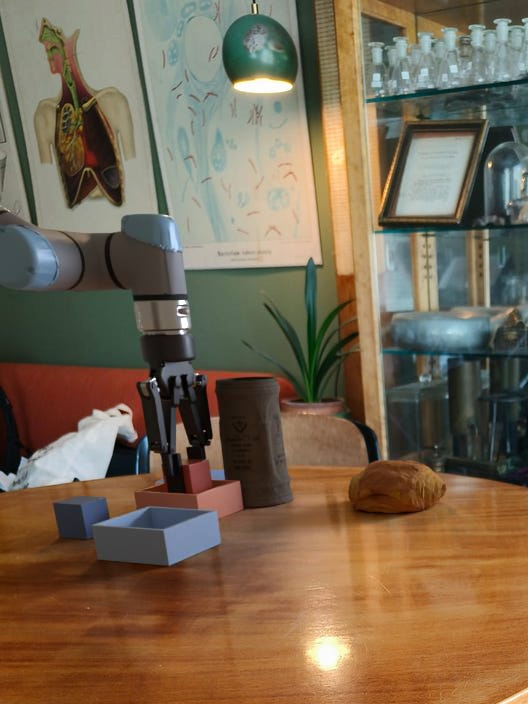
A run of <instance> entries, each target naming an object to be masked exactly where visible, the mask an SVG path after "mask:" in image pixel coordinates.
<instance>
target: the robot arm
mask: <svg viewBox="0 0 528 704" xmlns="http://www.w3.org/2000/svg"><path fill="white" fill-rule="evenodd" d="M183 253H184V249H183V248H182V243H181V238H180V232H179V227H178V223H177V221H176V220H175V219H174V217H172V216H170V215H168V214H163V213H162V214H161V213H160V214H159V213H132V214H125V215H123V216H122V217H121V219H120V230H119V231H114V232H77V231H66V230H59V229H51V228H50V229H49V228H42V227H40V226H37V225H35V224H33V223H32V222H31V221H28V220H27V219H25V218H23V217H21V216H19V215H18V214H16V213H14V212H12V211H11V210H10V209H8V208H6V207H4V206H3V205H1V204H0V285H1V286H3V287H5V288H7V289H11V290H19V291H21V292H26V293H36V292H44V291H45V292H51V291H52V292H53V291H57V292H58V291H62V292H71V293H86V292H99V291H116V290H123V291H125V290H128V291H129V290H130V291H131V294H132V301H133V308H134V315H135V322H136V329H137V331H138V332H141V333H142V335H140V337H139V338H138V340H139V346H140V352H141V358H142V361H143V362H144V363H147V364H148V366H149V370H148V378H147V379H145V380H144V381H137V382H136V383H135V388H136V390H137V392H138V395H139V397H140V402H141V408H142V414H143V415H142V416H143V421H144V428H145V435H146V440H147V448H148V450H149V451H150V452H153V453H154V454H159V455H160V460H161V464H162V466H163V472H164V475H165V476H166V482H167V488H168V493H181V494H186V488H185V482H184V475H183V468H182V461H181V459H182V454H181V452H176V451H177V409H178V412H179V416H180V419H181V422H182V425H183V428H184V432H185V435H186V438H187V441H188V445H189V446H186V447H185V450H186V451H185V452H186V457H187V458H186V459H206V460H207V454H206V447H210V446H211V444H212V441H213V439H214V432H213V427H212V419H211V411H210V405H209V397H208V390H207V389H208V376H207V374H205V373H197V372H195V370H194V367H193V365H192V361H195V360H196V359H197V352H196V344H195V336H194V335H193V334H192V333H189V330H191V329H192V328H193V325H192V317H191V309H190V304H189V294H188V290H187V282H186V274H185V263H184V257H183ZM162 466H161V467H162ZM163 472H162V473H163Z"/></svg>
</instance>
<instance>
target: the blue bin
mask: <svg viewBox="0 0 528 704" xmlns="http://www.w3.org/2000/svg"><path fill="white" fill-rule="evenodd" d="M91 527H92V532H93V542H94V547H95V554H96V559H97V561H107V562H108V561H109V562H118V563H119V562H121V563H133V564H142V565H152V566H153V565H154V566H165V567H170V566H173V565H175V564H177V563H179V562H182V561H184V560H186V559H188V558H190V557H193V556H195V555H197V554H200V553H202V552H206V551H207V550H210V549H211V548H214V547H216V546H218V545H221V544H222V539H221V532H220V524H219V519H218V516H217V511H215V510H200V509H184V508H168V507H153V506H148V507H145V508H142V509H139V510H137V509H136V510H134V511H131V512H127V513H124V514H121V515H118V516H115V517H112V518H110V519H109V520H106V521H103V522H100V523H97V524H94V525H91Z"/></svg>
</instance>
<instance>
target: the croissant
mask: <svg viewBox="0 0 528 704" xmlns="http://www.w3.org/2000/svg"><path fill="white" fill-rule="evenodd" d="M446 493H447V484H445V481H444V480H443V478H441V477H440V476H439V475H438V474H437V473H436V472H435V471H433V470H432V468H430V467H429V466H428V465H426V464H424V463H421V462H418V461H416V460H407V459H399V460H398V459H397V460H395V459H390V460H388V459H387V460H386V459H385V460H383V459H382V460H379V459H377V460H374V461H371V462H369V463H368V465H367V466H366V467H365V468H364V469H363V470H361V471H360V472H359V473H357V474H355V475H353V476H352V477H351V479H350V481H349V485H348V493H347V494H348V500H349V501H350V503H352V504H353V505H354V508H355V510H357V511H364V512H368V513H385V514H399V513H405V512H409V513H410V512H413V513H415V512H419V511H421V510H422V511H424V510H425V509H427V508H430V507H433V506H435V505H437V504H438V503H440V502H441V501H442V499H443V497H444V496H445V495H446Z"/></svg>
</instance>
